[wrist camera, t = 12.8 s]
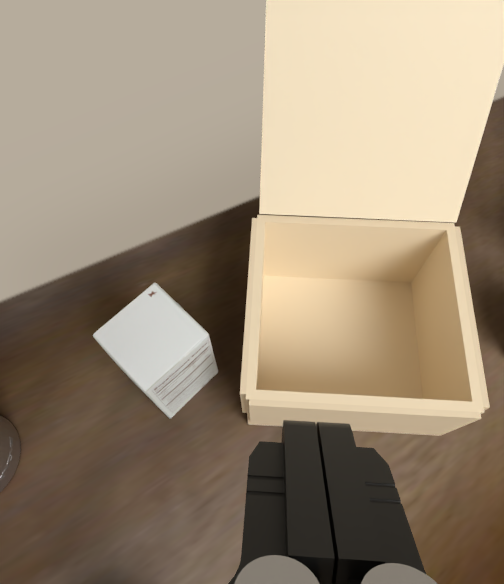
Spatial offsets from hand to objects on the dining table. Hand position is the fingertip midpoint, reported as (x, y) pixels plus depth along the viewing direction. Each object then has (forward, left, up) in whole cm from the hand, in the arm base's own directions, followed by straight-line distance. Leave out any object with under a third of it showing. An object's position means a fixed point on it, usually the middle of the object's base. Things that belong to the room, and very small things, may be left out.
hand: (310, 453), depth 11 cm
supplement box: (-11, +12, -38) cm, 41 cm away
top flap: (+7, +29, -17) cm, 34 cm away
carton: (+7, +16, -38) cm, 42 cm away
